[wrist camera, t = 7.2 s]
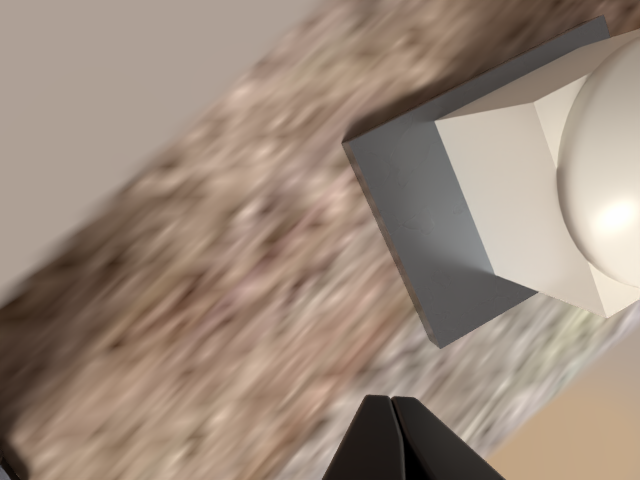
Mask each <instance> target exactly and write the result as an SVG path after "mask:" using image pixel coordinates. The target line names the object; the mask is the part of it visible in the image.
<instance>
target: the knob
mask: <svg viewBox="0 0 640 480" xmlns="http://www.w3.org/2000/svg"><path fill="white" fill-rule="evenodd" d="M434 122H435V124H436V127H437V129H438V132H439V134H440V137H441V139H442V142H443V144H444V147H445V149H446V152H447V154H448V157H449V159H450V162H451V164H452V167H453V170H454V172H455V175H456V177H457V180H458V182H459V185H460V187H461V190H462V192H463V195H464V197H465V200H466V202H467V205H468V207H469V210H470V212H471V215H472V217H473V220H474V223H475V225H476V228H477V230H478V233H479V235H480V238H481V240H482V243H483V245H484V248H485V250H486V253H487V255H488V258H489V260H490V263H491V265H492V268H493V270H494V273H495V275H497V276H500V277H502V278H505V279H507V280H510V281H513V282H515V283H518V284H520V285H523V286H525V287H528V288H531V289H533V290H536V291H538V292H541V293H543V294H546V295H549V296H551V297H554V298H556V299H559V300H561V301H564V302H567V303H569V304H572V305H574V306H577V307H579V308H582V309H584V310H587V311H590V312H592V313H595V314H597V315H600V316H602V317H605V318H608V317H610V316H612V315H613V314H615V313H617V312H618V311H620V310H622V309H623V308H625V307H627V306H628V305H630V304H632V303H633V302H635V301H637V300H638V299H640V29H637V30H634V31H630V32H627V33H624V34H621V35H618V36H614V37H611V38H608V39H605V40H602V41H598V42H595V43H592V44H589V45H586V46H583V47H579V48H577V49H575V50H573V51H571V52H570V53H568V54H566V55H564V56H562V57H560V58H558V59H556V60H554V61H552V62H550V63H548V64H546V65H544V66H542V67H540V68H538V69H536V70H534V71H532V72H530V73H528V74H526V75H524V76H522V77H520V78H518V79H516V80H514V81H512V82H510V83H508V84H506V85H504V86H502V87H500V88H499V89H497V90H495V91H493V92H491V93H489V94H487V95H485V96H483V97H481V98H479V99H477V100H475V101H473V102H471V103H469V104H467V105H465V106H463V107H461V108H459V109H457V110H455V111H453V112H451V113H449V114H447V115H445V116H443V117H441V118H439V119H437V120H435V121H434Z"/></svg>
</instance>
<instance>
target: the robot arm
mask: <svg viewBox="0 0 640 480" xmlns="http://www.w3.org/2000/svg"><path fill="white" fill-rule="evenodd" d="M0 480H20V479H19V477H18V476H17V475H16V473H15V472H14V471H13V469H12V468H11V467H10V465H9V464H8V463H7V461H6V460H5V459H4V457H3V451H2V450H1V449H0ZM322 480H506V479H505V478H503V477H502V476H501V475H500V474H499V473H498V472H497V471H496V470H495V469H493V468H492V467H491V466H490V465H489V464H488V463H487V462H486V461H485V460H484V459H482V458H481V457H480V456H479V455H478V454H477V453H476V452H475V451H474V450H473V449H471V448H470V447H469V446H468V445H467V444H466V443H465V442H464V441H463V440H462V439H460V438H459V437H458V436H457V435H456V434H455V433H454V432H453V431H452V430H451V429H449V428H448V427H447V426H446V425H445V424H444V423H443V422H442V421H441V420H439V419H438V418H437V417H436V416H435V415H434V414H433V413H432V412H431V411H430V410H428V409H427V408H426V407H425V406H424V405H423V404H422V403H421V402H420V401H419V400H417V399H416V398H414V397H400V396H394V397H392V398H391V399H390V397H388V396H383V395H366V396H365V397H364V399H363V401H362V403H361V405H360V407H359V408H358V410H357V412H356V414H355V416H354V418H353V420H352V422H351V424H350V426H349V428H348V430H347V432H346V434H345V436H344V438H343V440H342V441H341V443H340V445H339V447H338V449H337V451H336V453H335V455H334V457H333V459H332V461H331V463H330V465H329V467H328V469H327V471H326V472H325V474H324V476H323V478H322Z"/></svg>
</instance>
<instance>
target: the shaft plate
mask: <svg viewBox="0 0 640 480" xmlns="http://www.w3.org/2000/svg"><path fill="white" fill-rule="evenodd" d="M608 38H610V35H609V31H608V28H607V25H606V21H605V18H604V15H601V16H599V17H596V18H594V19H591V20H588V21H586V22H584V23H582V24H580V25H578V26H576V27H574V28H572V29H570V30H568V31H566V32H564V33H561V34H559V35H557V36H555V37H553V38H551V39H549V40H547V41H545V42H543V43H541V44H539V45H537V46H535V47H533V48H531V49H529V50H527V51H525V52H523V53H521V54H519V55H517V56H515V57H513V58H511V59H509V60H507V61H505V62H503V63H501V64H499V65H497V66H495V67H493V68H491V69H489V70H487V71H485V72H483V73H481V74H479V75H477V76H475V77H473V78H471V79H469V80H467V81H465V82H463V83H461V84H459V85H457V86H455V87H453V88H451V89H449V90H447V91H445V92H443V93H441V94H439V95H437V96H435V97H433V98H431V99H429V100H427V101H425V102H423V103H421V104H419V105H417V106H415V107H413V108H411V109H409V110H407V111H405V112H403V113H401V114H399V115H397V116H395V117H393V118H391V119H389V120H387V121H385V122H383V123H381V124H379V125H377V126H375V127H373V128H371V129H369V130H367V131H365V132H363V133H361V134H359V135H357V136H355V137H353V138H351V139H349V140H347V141H345V142H343V143H341V144H342V146H343V148H344V150H345V153H346V155H347V157H348V159H349V161H350V164H351V166H352V168H353V170H354V173H355V175H356V177H357V179H358V181H359V184H360V186H361V188H362V190H363V193H364V195H365V197H366V199H367V201H368V204H369V206H370V208H371V210H372V213H373V215H374V217H375V219H376V221H377V224H378V226H379V228H380V230H381V233H382V235H383V237H384V239H385V241H386V244H387V246H388V248H389V250H390V253H391V255H392V257H393V259H394V261H395V264H396V266H397V268H398V270H399V273H400V275H401V277H402V279H403V281H404V284H405V286H406V288H407V290H408V293H409V295H410V297H411V299H412V301H413V304H414V306H415V308H416V310H417V313H418V315H419V317H420V319H421V321H422V324H423V326H424V328H425V330H426V333H427V335H428V337H429V339H430V341H431V342H432V343H434V344H435V345H436V346H437V347H439V348H440V349H441V348H443V347H445V346H447V345H448V344H450V343H452V342H454V341H455V340H457V339H459V338H460V337H462V336H464V335H466V334H467V333H469V332H471V331H473V330H474V329H476V328H478V327H479V326H481V325H483V324H485V323H486V322H488V321H490V320H492V319H493V318H495V317H497V316H498V315H500V314H502V313H504V312H505V311H507V310H509V309H511V308H512V307H514V306H516V305H517V304H519V303H521V302H523V301H524V300H526V299H528V298H530V297H531V296H533V295H535V294H536V293H538V291H536V290H533V289H531V288H528V287H525V286H523V285H520V284H518V283H515V282H513V281H510V280H507V279H505V278H502V277H500V276H497V275H495V273H494V270H493V268H492V265H491V263H490V260H489V258H488V255H487V253H486V250H485V248H484V245H483V243H482V240H481V238H480V235H479V233H478V230H477V228H476V225H475V223H474V220H473V217H472V215H471V212H470V210H469V207H468V205H467V202H466V200H465V197H464V195H463V192H462V190H461V187H460V185H459V182H458V180H457V177H456V175H455V172H454V170H453V167H452V164H451V162H450V159H449V157H448V154H447V152H446V149H445V147H444V144H443V142H442V139H441V137H440V134H439V132H438V129H437V127H436V124H435V122H434V121H435V120H437V119H439V118H441V117H443V116H445V115H447V114H449V113H451V112H453V111H455V110H457V109H459V108H461V107H463V106H465V105H467V104H469V103H471V102H473V101H475V100H477V99H479V98H481V97H483V96H485V95H487V94H489V93H491V92H493V91H495V90H497V89H499V88H500V87H502V86H504V85H506V84H508V83H510V82H512V81H514V80H516V79H518V78H520V77H522V76H524V75H526V74H528V73H530V72H532V71H534V70H536V69H538V68H540V67H542V66H544V65H546V64H548V63H550V62H552V61H554V60H556V59H558V58H560V57H562V56H564V55H566V54H568V53H570V52H571V51H573V50H575V49H577V48H579V47H583V46H586V45H589V44H592V43H595V42H598V41H602V40H605V39H608Z"/></svg>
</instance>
